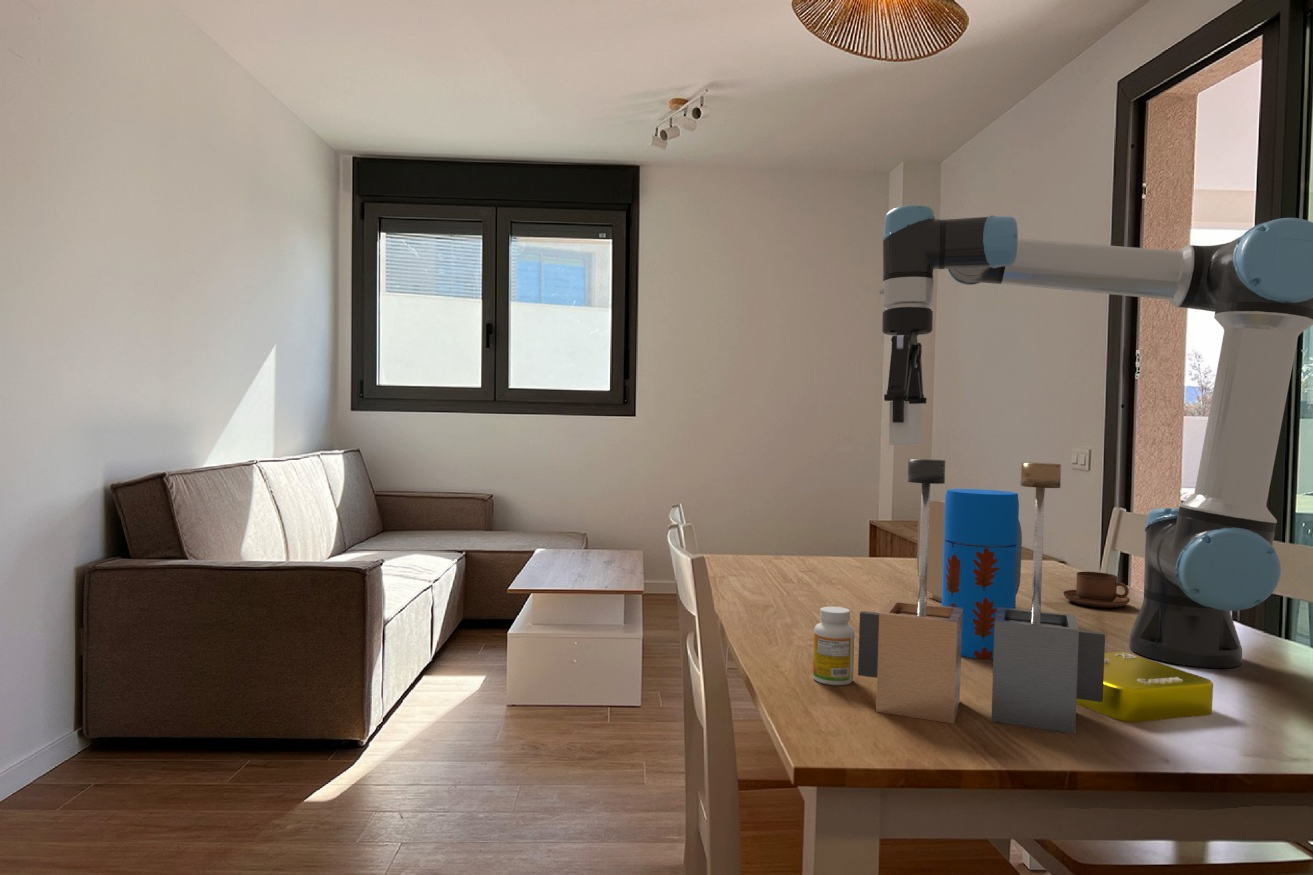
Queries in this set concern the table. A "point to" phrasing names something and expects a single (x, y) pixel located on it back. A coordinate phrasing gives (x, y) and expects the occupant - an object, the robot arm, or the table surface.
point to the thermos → (980, 562)
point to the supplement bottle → (833, 647)
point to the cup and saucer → (1097, 590)
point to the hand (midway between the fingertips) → (905, 444)
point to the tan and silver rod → (1039, 522)
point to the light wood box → (913, 659)
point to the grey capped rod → (925, 517)
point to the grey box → (1044, 669)
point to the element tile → (1149, 690)
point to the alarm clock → (937, 546)
